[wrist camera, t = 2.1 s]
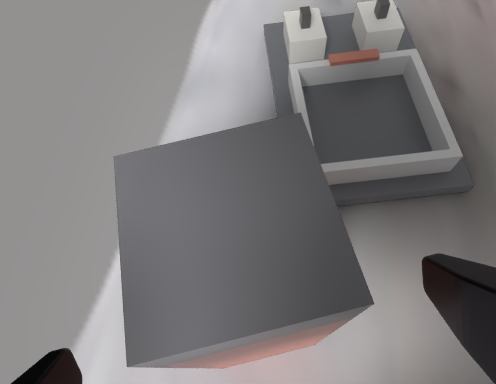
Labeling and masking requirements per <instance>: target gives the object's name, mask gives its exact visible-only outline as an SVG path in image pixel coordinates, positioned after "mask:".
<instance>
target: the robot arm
mask: <svg viewBox="0 0 496 384" xmlns="http://www.w3.org/2000/svg"><path fill="white" fill-rule="evenodd" d="M422 274H423V286H424V290H425V292H426V294H427V296H428V297H429V299H430V300H431V301H432V303H433V304H434V306H435V307H436V309H437V310H438V311H439V313H440V314H441V316H442V317H443V319H444V320H445V322H446V323H447V324H448V326H449V327H450V329H451V330H452V332H453V333H454V335H455V336H456V337H457V339H458V340H459V341H460V343H461V344H462V346H463V347H464V348H465V349H466V350H467V352H468V353H469V354H470V355H471V357H472V358H473V359H474V360H475V361H476V362H477V364H478V365H479V366H480V367H481V368H482V369H483V371H484V372H485V373H486V374H487V375H488V376H489V378H490V379H491V380H492V381H493V382H494V383H495V384H496V268H495V267H491V266H487V265H484V264H480V263H476V262H472V261H468V260H464V259H460V258H456V257H452V256H448V255H444V254H434V255H430V256H426V257H424V258H423V259H422ZM11 384H82V374H81V371H80V369H79V367H78V365H77V363H76V360H75V358H74V356H73V354H72V352H71V350H69V349H68V348H62V349H59V350H55V351H51V352H49V353H48V354H46V355H45V356H44V357H43V358H41V359H40V360H39V361H38V362H37V363H36V364H34V365H33V366H32V367H31V368H29V369H28V370H27V371H26V372H24V373H23V374H22V375H21V376H20V377H18V378H17V379H16V380H15V381H14V382H12V383H11Z"/></svg>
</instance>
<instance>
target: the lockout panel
mask: <svg viewBox="0 0 496 384" xmlns="http://www.w3.org/2000/svg"><path fill="white" fill-rule="evenodd" d="M264 35H265V42H266V48H267V54H268V61H269V67H270V73H271V80H272V86H273V92H274V99H275V105H276V111H277V117H278V118H279V117H283V116H288V115H292V114H296V113H300V112H301V114H302V117H303V120H304V122H305V125H306V127H307V130H308V133H309V135H310V138H311V140H312V143H313V146H314V148H315V151H316V153H317V156H318V159H319V161H320V164H321V166H322V169H323V172H324V174H325V177H326V179H327V182H328V185H329V187H330V190H331V192H332V195H333V198H334V200H335V203H336V205H337V206H343V205H352V204H361V203H370V202H379V201H388V200H396V199H405V198H414V197H423V196H432V195H441V194H450V193H459V192H468V191H469V190H470V189H471V188H472V187H473V186H474V182H473V180H472V178H471V175H470V173H469V171H468V168H467V166H466V164H465V162H464V159H463V155H462V152H461V150H460V148H459V145H458V143H457V141H456V138H455V136H454V134H453V132H452V129H451V127H450V125H449V122H448V120H447V118H446V115H445V113H444V111H443V108H442V106H441V104H440V102H439V99H438V97H437V95H436V92H435V90H434V88H433V85H432V83H431V81H430V79H429V76H428V74H427V72H426V69H425V67H424V65H423V62H422V60H421V58H420V55H419V53H418V51H417V49H416V48H415V46H414V44H413V41H412V39H411V37H410V34H409V32H408V30H407V27H406V25H405V23H404V20H403V18H402V16H401V13H400V11H399V9H398V8H396V6H395V4H394V2H393V0H374V1H366V2H359V3H357V4H356V8H355V13H351V14H343V15H336V16H328V17H321V14H320V11H319V8H312V9H310V7H309V6H308V7H300V10H296V11H289V12H284V22H281V23H273V24H265V25H264Z"/></svg>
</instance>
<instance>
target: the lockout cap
mask: <svg viewBox="0 0 496 384" xmlns="http://www.w3.org/2000/svg"><path fill="white" fill-rule="evenodd" d="M114 169H115V186H116V202H117V217H118V233H119V249H120V265H121V281H122V297H123V312H124V328H125V344H126V360H127V367H154V368H220V369H223V368H227V367H230V366H234V365H238V364H242V363H246V362H250V361H254V360H257V359H261V358H265V357H269V356H273V355H277V354H281V353H285V352H288V351H292V350H296V349H300V348H304V347H308V346H312V345H315V344H316V343H318V342H319V341H321V340H322V339H324V338H325V337H327V336H328V335H330V334H331V333H332V332H334V331H335V330H337V329H338V328H340V327H341V326H343V325H344V324H346V323H347V322H348V321H350V320H351V319H353V318H354V317H356V316H357V315H359V314H360V313H362V312H363V311H364V310H366V309H367V308H369V307H370V306H372V305H373V304H374V302H373V299H372V296H371V294H370V291H369V289H368V286H367V283H366V281H365V278H364V276H363V273H362V270H361V268H360V265H359V263H358V260H357V257H356V255H355V252H354V250H353V247H352V244H351V242H350V239H349V237H348V234H347V231H346V229H345V226H344V224H343V221H342V218H341V216H340V213H339V211H338V208H337V205H336V203H335V200H334V198H333V195H332V192H331V190H330V187H329V185H328V182H327V179H326V177H325V174H324V172H323V169H322V166H321V164H320V161H319V159H318V156H317V153H316V151H315V148H314V146H313V143H312V140H311V138H310V135H309V133H308V130H307V127H306V125H305V122H304V120H303V117H302V114H301V112H300V113H296V114H292V115H288V116H283V117H279V118H275V119H271V120H266V121H262V122H258V123H254V124H249V125H245V126H241V127H237V128H232V129H228V130H224V131H220V132H215V133H211V134H207V135H203V136H199V137H194V138H190V139H186V140H182V141H177V142H173V143H169V144H165V145H160V146H156V147H152V148H148V149H144V150H139V151H135V152H131V153H127V154H122V155H118V156H114Z"/></svg>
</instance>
